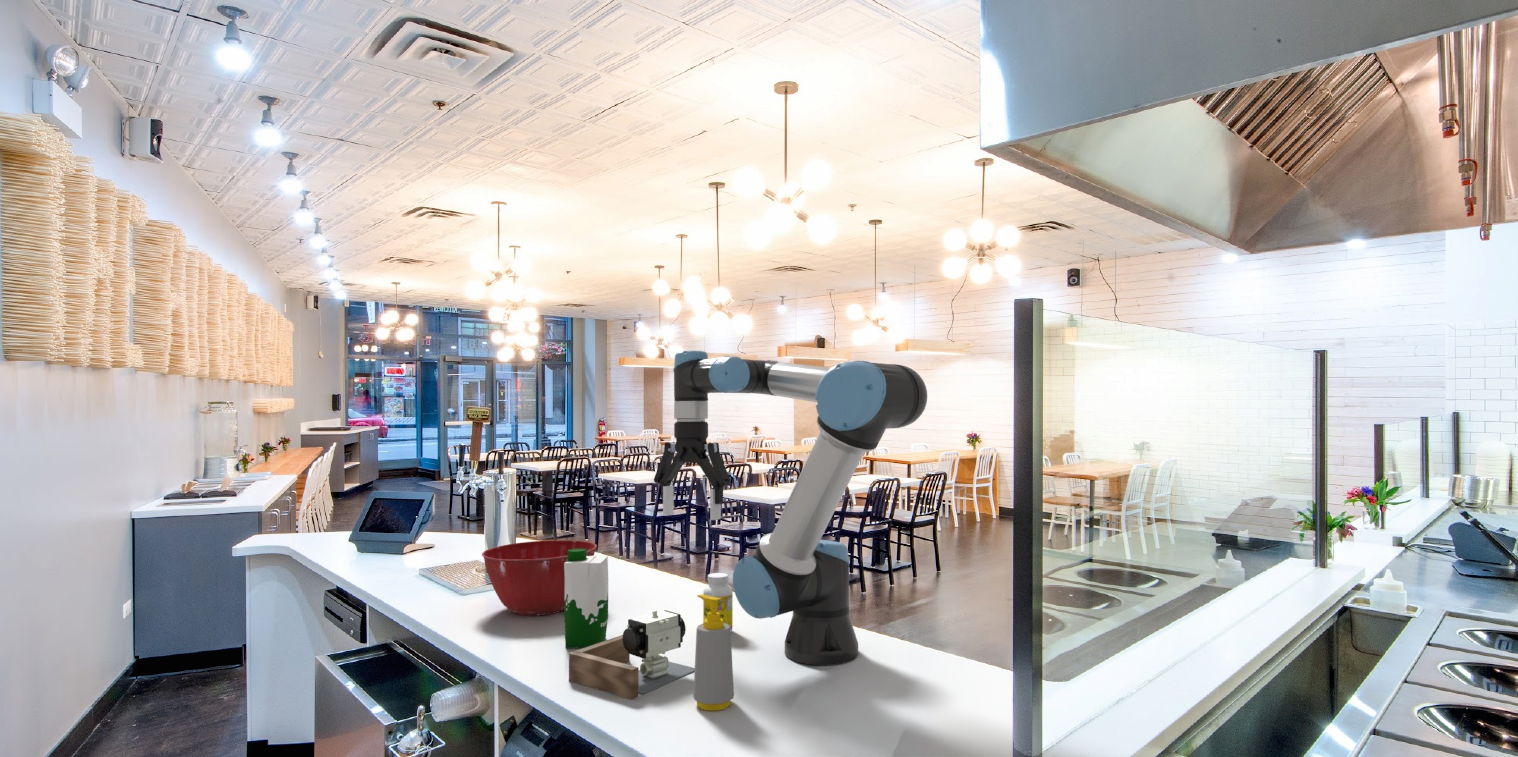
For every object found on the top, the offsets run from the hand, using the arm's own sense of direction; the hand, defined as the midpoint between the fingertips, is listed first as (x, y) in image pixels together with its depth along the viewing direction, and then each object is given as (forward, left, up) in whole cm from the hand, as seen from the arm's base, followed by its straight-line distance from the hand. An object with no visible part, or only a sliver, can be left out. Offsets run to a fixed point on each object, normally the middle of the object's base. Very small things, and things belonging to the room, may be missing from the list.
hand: (691, 517), depth 160 cm
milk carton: (+18, +14, -27) cm, 35 cm away
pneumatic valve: (-9, +21, -27) cm, 35 cm away
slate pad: (-8, +21, -27) cm, 35 cm away
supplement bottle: (-1, -8, -27) cm, 28 cm away
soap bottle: (-26, +25, -27) cm, 45 cm away
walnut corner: (-5, +24, -27) cm, 36 cm away
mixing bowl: (+50, +1, -27) cm, 57 cm away
